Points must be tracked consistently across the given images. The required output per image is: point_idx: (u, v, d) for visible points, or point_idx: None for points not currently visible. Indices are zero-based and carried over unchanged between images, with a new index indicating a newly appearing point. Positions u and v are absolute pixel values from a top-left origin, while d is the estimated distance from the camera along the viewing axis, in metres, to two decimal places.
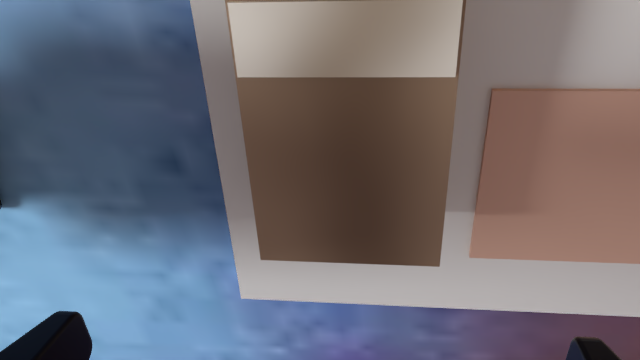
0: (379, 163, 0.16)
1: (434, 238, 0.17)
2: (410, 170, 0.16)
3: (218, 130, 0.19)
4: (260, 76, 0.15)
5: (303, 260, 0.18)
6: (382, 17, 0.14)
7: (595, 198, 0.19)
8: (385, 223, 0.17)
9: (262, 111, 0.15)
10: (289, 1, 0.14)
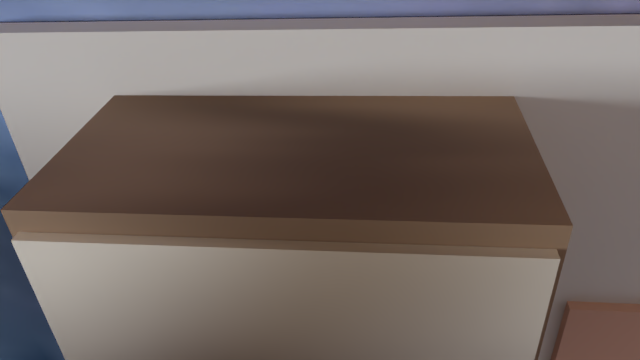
0: None
1: None
2: None
3: None
4: None
5: None
6: (364, 283, 0.06)
7: None
8: None
9: None
10: (147, 244, 0.06)
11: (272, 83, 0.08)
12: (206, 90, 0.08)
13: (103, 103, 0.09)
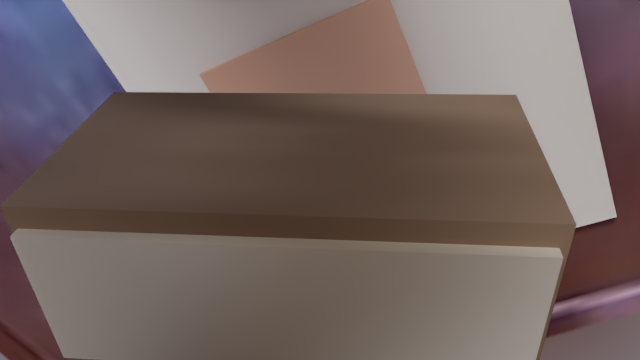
0: None
1: None
2: None
3: None
4: (112, 357, 0.07)
5: None
6: (365, 281, 0.06)
7: None
8: None
9: None
10: (148, 240, 0.06)
11: None
12: None
13: None
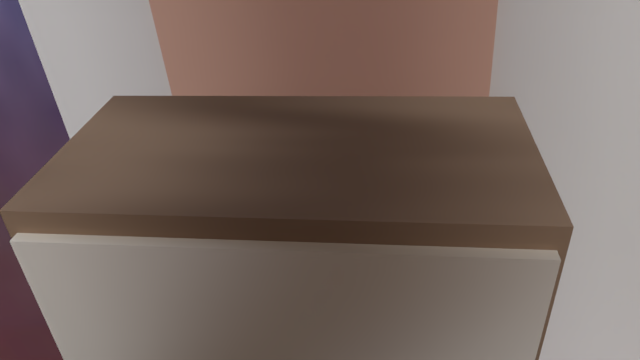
0: None
1: None
2: None
3: None
4: None
5: None
6: (364, 283, 0.06)
7: None
8: None
9: None
10: (147, 244, 0.06)
11: None
12: None
13: None
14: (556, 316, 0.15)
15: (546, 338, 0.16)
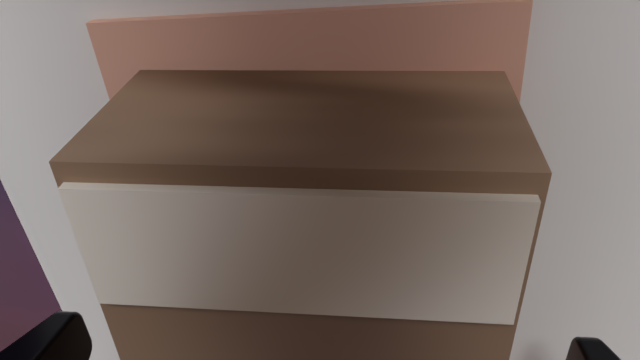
0: None
1: None
2: None
3: None
4: (142, 303, 0.08)
5: None
6: (370, 227, 0.07)
7: None
8: None
9: (153, 347, 0.09)
10: (180, 191, 0.07)
11: None
12: None
13: None
14: None
15: None
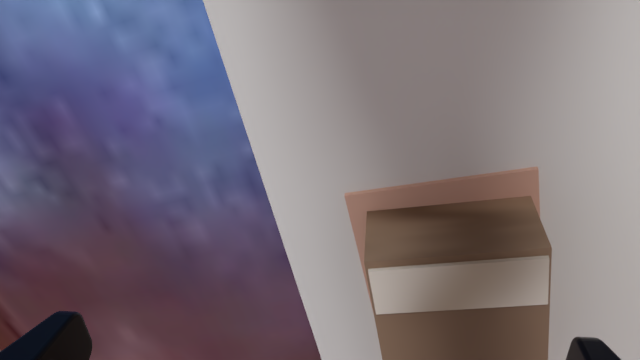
0: (490, 359, 0.20)
1: None
2: None
3: None
4: (393, 312, 0.19)
5: None
6: (487, 272, 0.18)
7: None
8: None
9: (394, 332, 0.20)
10: (415, 267, 0.18)
11: None
12: None
13: None
14: None
15: None
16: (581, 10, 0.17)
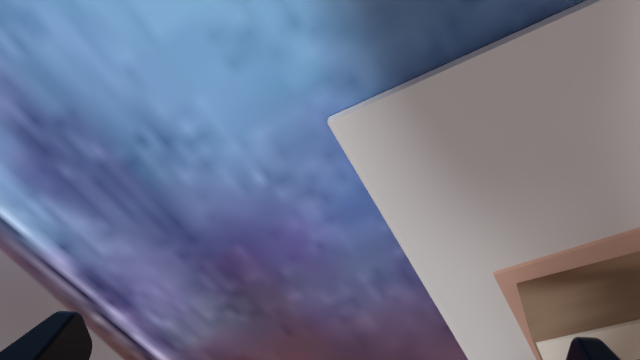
0: None
1: None
2: None
3: (556, 27, 0.18)
4: None
5: None
6: None
7: None
8: None
9: None
10: (579, 335, 0.21)
11: None
12: None
13: None
14: None
15: None
16: None
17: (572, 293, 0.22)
